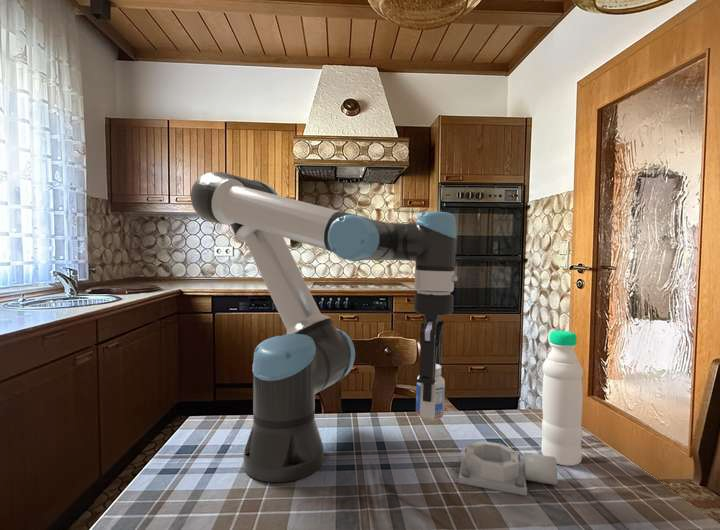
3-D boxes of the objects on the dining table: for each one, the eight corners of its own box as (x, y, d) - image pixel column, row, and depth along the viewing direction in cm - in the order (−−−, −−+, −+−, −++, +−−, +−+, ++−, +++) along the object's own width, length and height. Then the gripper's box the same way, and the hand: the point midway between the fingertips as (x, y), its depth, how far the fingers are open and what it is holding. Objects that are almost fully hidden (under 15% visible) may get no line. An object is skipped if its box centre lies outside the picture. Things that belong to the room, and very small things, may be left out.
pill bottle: (419, 407, 79) (421, 360, 79) (446, 412, 77) (447, 364, 76) (412, 417, 74) (414, 367, 74) (440, 423, 72) (442, 371, 71)
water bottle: (587, 469, 72) (589, 336, 71) (546, 465, 73) (548, 334, 73) (574, 451, 79) (576, 329, 78) (537, 447, 80) (539, 327, 80)
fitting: (458, 483, 67) (459, 458, 67) (462, 453, 78) (463, 431, 78) (560, 502, 62) (561, 475, 62) (550, 467, 73) (550, 444, 72)
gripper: (448, 298, 65) (443, 434, 65) (457, 289, 82) (453, 397, 83) (404, 295, 67) (400, 426, 68) (422, 287, 85) (418, 392, 85)
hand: (429, 410), depth 75 cm, fingers closed on pill bottle, 5 cm apart
